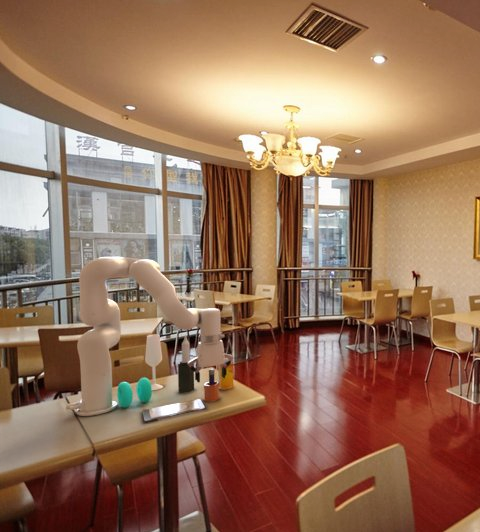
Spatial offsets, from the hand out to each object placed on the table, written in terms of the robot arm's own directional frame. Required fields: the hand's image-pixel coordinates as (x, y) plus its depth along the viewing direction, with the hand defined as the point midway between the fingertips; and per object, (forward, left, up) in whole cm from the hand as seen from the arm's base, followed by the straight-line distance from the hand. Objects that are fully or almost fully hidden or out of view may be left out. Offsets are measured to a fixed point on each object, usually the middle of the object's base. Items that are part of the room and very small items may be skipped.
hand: (211, 379), depth 162 cm
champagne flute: (-18, +31, -9) cm, 37 cm away
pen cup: (0, 0, -9) cm, 9 cm away
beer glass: (+8, +11, -9) cm, 16 cm away
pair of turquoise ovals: (-26, +13, -9) cm, 30 cm away
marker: (0, 0, -8) cm, 8 cm away
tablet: (-14, -4, -9) cm, 17 cm away
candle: (-7, +17, -9) cm, 20 cm away
